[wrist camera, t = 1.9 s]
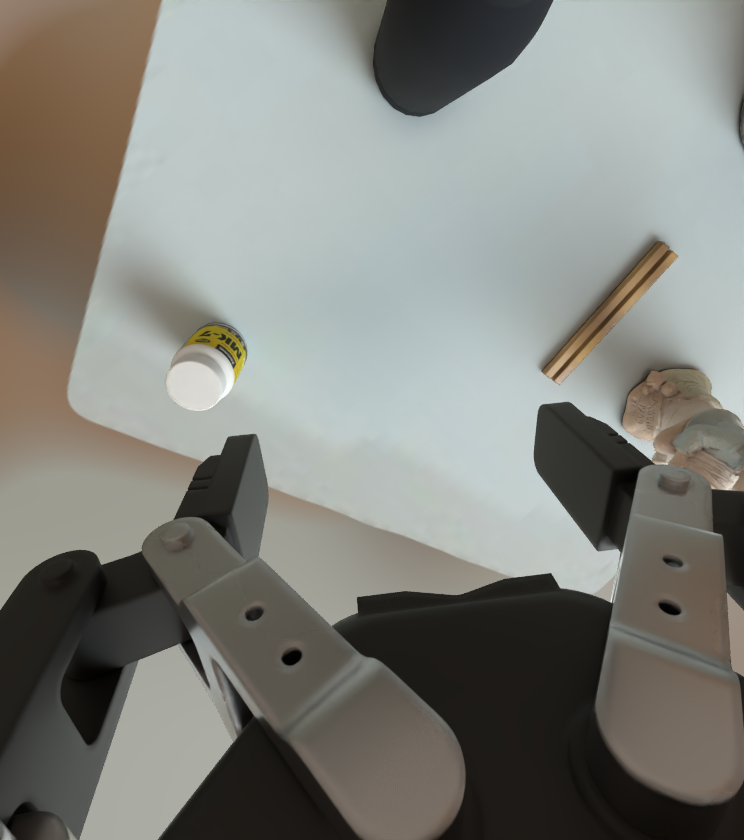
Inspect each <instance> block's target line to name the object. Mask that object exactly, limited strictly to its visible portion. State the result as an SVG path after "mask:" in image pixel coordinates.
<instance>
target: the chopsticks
mask: <svg viewBox="0 0 744 840" xmlns="http://www.w3.org/2000/svg"><path fill="white" fill-rule="evenodd" d="M668 249H669V247H668V246H667V245H666V244H665V243H663V242H657V243H656V245H655V246H654V247H653V248H652V249H651V250H650V251H649V252H648V254H647V255H646V256H645V257H644V258H643V259H642V260H641V261H640V262H639V264H638V265H637V266H636V267H635V268H634V269H633V270H632V271H631V273H630V274H629V275H628V276H627V277H626V278H625V279H624V280H623V281H622V283H621V284H620V285H619V286H618V287H617V288H616V289H615V290H614V292H613V293H612V294H611V295H610V296H609V297H608V298H607V299H606V300H605V302H604V303H603V304H602V305H601V306H600V307H599V308H598V309H597V311H596V312H595V313H594V314H593V315H592V316H591V317H590V318H589V319H588V321H587V322H586V323H585V324H584V325H583V326H582V327H581V328H580V330H579V331H578V332H577V333H576V334H575V335H574V336H573V337H572V338H571V340H570V341H569V342H568V343H567V344H566V345H565V346H564V347H563V349H562V350H561V351H560V352H559V353H558V354H557V355H556V356H555V357H554V359H553V360H552V361H551V362H550V363H549V364H548V365H547V366H546V368H545V369H544V370H543V371H542V372H543V373H544V374H545V375H546V376H547V377H549V378H551V379H552V380H553V381H554V382H555V383H557V384H558V385H560V384H561V383H562V382H563V381H564V380H565V379H566V378H567V376H568V375H569V374H570V373H571V372H572V371H573V370H574V369H575V368H576V367H577V366H578V365H579V363H580V362H581V361H582V360H583V359H584V358H585V357H586V356H587V355H588V354H589V353H590V352H591V351H592V349H593V348H594V347H595V346H596V345H597V344H598V343H599V342H600V341H601V340H602V339H603V338H604V336H605V335H606V334H607V333H608V332H609V331H610V330H611V329H612V328H613V327H614V326H615V325H616V323H617V322H618V321H619V320H620V319H621V318H622V317H623V316H624V315H625V314H626V313H627V312H628V311H629V309H630V308H631V307H632V306H633V305H634V304H635V303H636V302H637V301H638V300H639V299H640V298H641V296H642V295H643V294H644V293H645V292H646V291H647V290H648V289H649V288H650V287H651V286H652V285H653V283H654V282H655V281H656V280H657V279H658V278H659V277H660V276H661V275H662V274H663V273H664V272H665V270H666V269H667V268H668V267H669V266H670V265H671V264H672V263H673V262H674V261H675V260H676V259H677V258H678V256H677V255H676V254H675V253H674V252H673V251H670V250H668Z"/></svg>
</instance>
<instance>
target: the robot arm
mask: <svg viewBox="0 0 744 840" xmlns="http://www.w3.org/2000/svg"><path fill="white" fill-rule="evenodd" d="M740 132H741V138H742V142H743V145H744V100H743V104H742V109H741V116H740ZM534 462H535V466H536V469H537V471H538V473H539V475H540V476H541V477H542V479H543V480H544V481H545V483H546V484H547V485H548V487H549V488H550V489H551V491H552V492H553V493H554V495H555V496H556V497H557V498H558V500H559V501H560V502H561V504H562V505H563V506H564V508H565V509H566V510H567V512H568V513H569V514H570V516H571V517H572V518H573V520H574V521H575V522H576V523H577V525H578V526H579V527H580V529H581V530H582V531H583V533H584V534H585V535H586V537H587V538H588V539H589V541H590V542H591V543H592V545H593V546H594V547H595V548H596V550H597V551H605V550H613V549H619V551H620V552H621V553H620V558H619V562H618V567H617V572H616V577H615V582H614V586H613V591H612V596H611V602H608V601H606V600H604V599H602V598H598V597H596V596H593V595H591V594H587V593H583V592H579V591H575V590H569V589H562V588H560V587H559V586H558V584H557V582H556V581H555V579H554V577H553V576H552V574H551V573H549V574H541V575H533V576H525V577H517V578H509V579H503V580H500V581H497V582H495V583H492V584H489V585H486V586H484V587H481V588H479V589H475V590H473V591H470V592H467V593H464V594H461V595H444V594H433V593H420V592H408V591H404V592H395V593H387V594H380V595H371V596H363V597H357V603H358V613H357V614H354V615H351V616H349V617H347V618H345V619H343V620H341V621H339V622H337V623H336V624H334V625H332V626H331V625H330V624H329V623H328V622H326V621H325V619H323V618H322V617H321V616H320V615H319V614H318V613H317V612H316V611H315V610H314V609H313V608H312V607H311V606H310V605H309V604H308V603H307V602H306V601H305V600H304V599H303V598H302V597H301V596H300V595H298V593H297V592H296V591H294V590H293V589H292V588H291V587H290V586H289V585H288V584H287V583H286V582H285V581H284V580H283V579H282V578H281V577H280V576H279V575H278V574H277V573H276V572H275V571H274V570H273V569H272V568H271V567H270V566H269V565H268V564H266V562H264V561H263V560H262V559H261V558H260V557H258V556H259V550H260V545H261V539H262V534H263V528H264V522H265V517H266V512H267V511H266V510H267V506H268V484H267V478H266V474H265V469H264V464H263V459H262V454H261V449H260V445H259V440H258V437H257V435H256V434H249V435H239V436H230V437H228V438H227V440H226V443H225V445H224V448H223V450H222V453H221V455H215V456H210V457H209V458H207V459H206V460H205V461H204V462H203V463H202V464H201V465H200V466H198V468H197V470H196V472H195V474H194V477H193V481H191V483H190V485H189V487H188V491H187V492H186V494H185V496H184V498H183V501H182V503H181V505H180V507H179V509H178V511H177V513H176V516H175V518H174V520H173V521H170V522H168V523H165V524H163V525H161V526H160V527H158V528H157V529H155V530H154V531H153V532H151V533H150V534H149V535H148V536H147V538H146V539H145V541H144V542H143V545H142V551H141V552H139V553H136V554H134V555H131V556H128V557H125V558H122V559H119V560H116V561H113V562H110V563H107V564H104V565H101V564H100V561H99V559H98V557H97V555H96V554H94V553H93V552H90V551H87V550H75V551H70V552H65V553H62V554H59V555H56V556H54V557H52V558H50V559H48V560H46V561H44V562H42V563H41V564H39V565H38V566H36V567H35V568H34V569H32V570H31V571H30V572H29V573H28V574H27V575H25V577H24V578H23V579H22V580H21V582H20V583H19V584H18V586H17V587H16V589H15V590H14V591H13V593H12V594H11V596H10V597H9V599H8V600H7V601H6V603H5V604H4V606H3V607H2V609H1V610H0V840H79V839H80V836H81V833H82V829H83V826H84V823H85V820H86V817H87V814H88V811H89V808H90V805H91V802H92V799H93V796H94V793H95V790H96V787H97V784H98V781H99V778H100V775H101V772H102V769H103V766H104V763H105V760H106V757H107V754H108V751H109V748H110V745H111V742H112V739H113V736H114V733H115V730H116V727H117V724H118V720H119V718H120V715H121V712H122V709H123V705H124V702H125V700H126V697H127V693H128V690H129V687H130V684H131V681H132V678H133V676H134V672H135V669H136V666H137V663H138V660H140V659H142V658H145V657H147V656H150V655H152V654H155V653H157V652H160V651H162V650H165V649H167V648H170V647H172V646H175V645H177V644H178V646H179V648H180V650H181V651H182V653H183V654H184V656H185V658H186V659H187V661H188V662H189V664H190V666H191V667H192V669H193V670H194V672H195V674H196V675H197V677H198V678H199V680H200V682H201V683H202V685H203V686H204V688H205V690H206V691H207V693H208V694H209V696H210V698H211V699H212V701H213V703H214V704H215V706H216V708H217V710H218V712H219V714H220V716H221V718H222V720H223V723H224V725H225V727H226V729H227V731H228V733H229V734H230V736H231V738H232V740H233V744H232V745H231V746H230V747H229V749H228V750H227V751H226V753H225V754H224V755H223V756H222V758H221V759H220V760H219V762H218V763H217V764H216V765H215V767H214V768H213V769H212V771H211V772H210V773H209V775H208V776H207V777H206V778H205V780H204V781H203V782H202V783H201V785H200V786H199V788H198V789H197V790H196V791H195V792H194V794H193V795H192V796H191V798H190V799H189V800H188V801H187V803H186V804H185V805H184V807H183V808H182V809H181V810H180V812H179V813H178V814H177V816H176V817H175V818H174V819H173V821H172V822H171V823H170V825H169V826H168V827H167V828H166V830H165V831H164V832H163V834H162V835H161V836H160V837H159V839H158V840H744V677H743V676H741V675H740V674H738V673H736V672H734V671H733V670H732V666H731V656H730V641H729V625H728V608H727V593H728V594H729V595H730V596H731V597H732V598H733V599H734V600H735V601H736V602H737V604H738V605H739V606H740V607H741V608H742V609H743V610H744V491H732V490H731V491H730V490H719V489H711V485H710V484H709V482H708V481H707V480H706V479H705V478H703V477H702V476H700V475H699V474H697V473H695V472H693V471H690V470H688V469H685V468H682V467H678V466H673V465H664V464H655V463H653V462H652V461H651V460H650V459H648V458H647V457H646V456H645V455H644V454H642V453H641V452H640V451H639V450H638V449H636V448H635V447H634V446H633V445H631V444H630V443H627V440H625V439H624V438H623V437H622V436H621V435H619V436H618V433H617V432H616V431H614V430H613V429H612V428H611V427H610V426H608V425H607V424H605V423H603V422H601V421H599V420H596V419H594V418H592V417H587V416H586V415H584V414H583V413H582V412H581V411H580V410H579V409H577V408H576V407H575V406H574V405H573V404H572V403H570V402H562V403H552V404H543V405H541V406H540V408H539V410H538V416H537V426H536V435H535V445H534Z"/></svg>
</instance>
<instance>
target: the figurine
mask: <svg viewBox="0 0 744 840" xmlns="http://www.w3.org/2000/svg"><path fill="white" fill-rule="evenodd" d="M711 389H712V385H711V382H710V380H709V379H708V377H707V376H706V375H705V374H703V373H701V372H699V371H697V370H693V369H691V370H690V369H685V370H684V369H669V370H664V371H662V372H657V371H655V370H653V371H651V372H650V374H649V375H648V377H647V379H646V380H645V381H644V382H642V383H641V384H640V385H638V386H637V387H636V388H634V389H633V390H632V391H631V392H630V394H629V396H628V398H627V406H626V409H625V413H624V416H623V421H622V425H623V427H624V429H625V430H626V431H627V432H628V433H630V434H631V435H633V436H634V437H636V438H639V439H642V440H647V441H650V442H653V447H654V448H655V451H656V453H655V454H654V456H653V458H652V462H653V463H655V464H665V463H668V465H673V466H678V467H682V468H685V469H688V470H690V471H693V472H695V473H697V474H699V475H700V476H702V477H703V478H705V479H706V480H707V481H708V482H709V484H710V485H711V489H719V490H730V489H732V491H744V426H743V425H742V422H741V421H740V419H739V418H738V417H737V416H736V415H735V414H733V413H732V412H730V411H728V410H724V409H723V408H722V406H721V404H720V402H719V401H718V400H717V399H716V398H714V397H713V396H711Z"/></svg>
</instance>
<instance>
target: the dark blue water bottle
mask: <svg viewBox="0 0 744 840" xmlns="http://www.w3.org/2000/svg"><path fill="white" fill-rule="evenodd" d="M552 2H553V0H387V4H386V7H385V11H384V14H383V18H382V21H381V25H380V28H379V31H378V35H377V38H376V42H375V45H374V58H373V66H374V72H375V78H376V82H377V84H378V87H379V89H380V91H381V93H382V95H383V97H384V98H385V99H386V100H387V101H388V102H389V104H390V105H391V106H392V107H393V108H394V109H396V110H398V111H400V112H402V113H404V114H405V115H411V116H419V117H420V116H424V115H428V114H432V113H435V112H436V111H438V110H439V109H441V108H443V107H444V106H446V105H448V104H449V103H451V102H452V101H454V100H456V99H457V98H459V97H460V96H462V95H464V94H465V93H467V92H469V91H470V90H472V89H473V88H475V87H477V86H478V85H480V84H481V83H483V82H485V81H486V80H488V79H490V78H491V77H493V76H494V75H496V74H497V73H499V72H500V71H502V70H503V69H505V68H506V67H508V66H509V65H511V64H512V63H513V62H514V61H515V59H516V58H517V57H518V56H519V55H520V53H521V52H522V51H523V50H524V49H525V47H526V46H527V45H528V44H529V42H530V41H531V40H532V38H533V37H534V35H535V34H536V32H537V31H538V29H539V27H540V26H541V24H542V22H543V20H544V18H545V17H546V15H547V12H548V10H549V8H550V6H551V4H552Z"/></svg>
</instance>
